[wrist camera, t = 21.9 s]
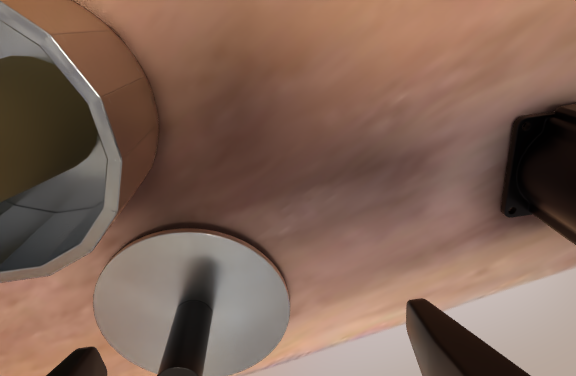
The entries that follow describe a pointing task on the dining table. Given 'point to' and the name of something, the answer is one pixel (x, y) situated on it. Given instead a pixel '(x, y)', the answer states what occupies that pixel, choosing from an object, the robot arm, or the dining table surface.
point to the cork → (39, 124)
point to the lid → (191, 303)
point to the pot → (105, 155)
